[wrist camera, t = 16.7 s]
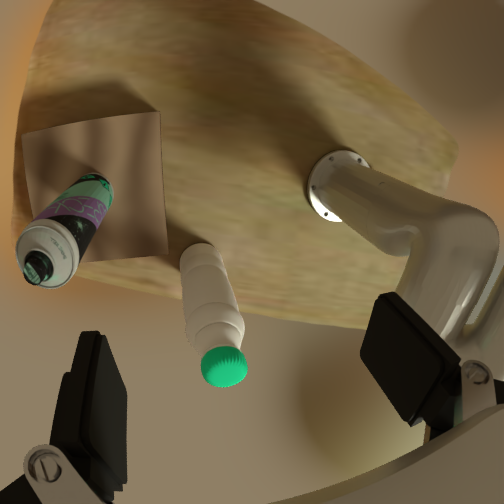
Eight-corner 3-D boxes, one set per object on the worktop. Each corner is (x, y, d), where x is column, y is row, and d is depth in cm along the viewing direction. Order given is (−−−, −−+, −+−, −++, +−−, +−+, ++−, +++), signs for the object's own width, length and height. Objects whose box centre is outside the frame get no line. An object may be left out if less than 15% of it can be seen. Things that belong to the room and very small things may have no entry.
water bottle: (171, 266, 50) (178, 385, 28) (195, 233, 48) (218, 341, 27) (205, 285, 53) (232, 402, 32) (229, 255, 52) (274, 365, 30)
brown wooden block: (162, 111, 39) (159, 111, 32) (169, 231, 47) (168, 254, 40) (44, 129, 35) (21, 134, 28) (61, 242, 43) (45, 266, 36)
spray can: (106, 220, 36) (62, 317, 19) (69, 206, 34) (0, 293, 17) (120, 180, 34) (73, 254, 17) (81, 166, 32) (4, 227, 15)
